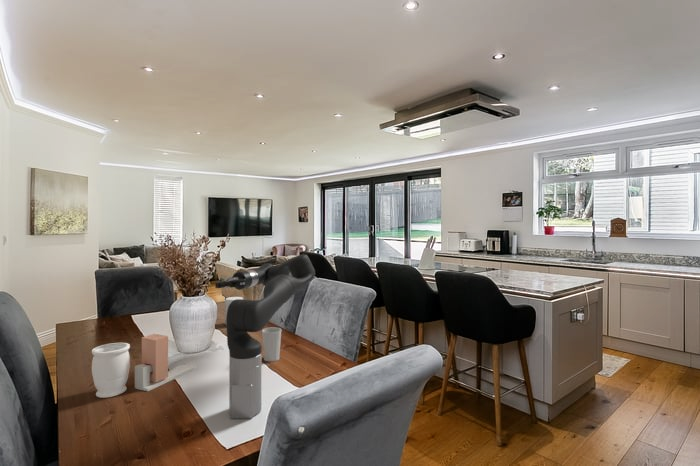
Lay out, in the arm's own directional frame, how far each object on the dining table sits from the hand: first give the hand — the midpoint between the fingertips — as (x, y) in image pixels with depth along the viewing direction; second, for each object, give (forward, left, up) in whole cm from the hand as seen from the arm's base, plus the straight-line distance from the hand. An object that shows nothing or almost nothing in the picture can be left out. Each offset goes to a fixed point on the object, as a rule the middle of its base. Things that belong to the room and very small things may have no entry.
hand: (216, 285), depth 142 cm
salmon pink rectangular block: (-13, +17, -31) cm, 37 cm away
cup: (+10, -19, -32) cm, 39 cm away
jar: (-21, +28, -32) cm, 47 cm away
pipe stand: (-9, +15, -32) cm, 36 cm away
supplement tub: (+62, +11, -32) cm, 71 cm away
